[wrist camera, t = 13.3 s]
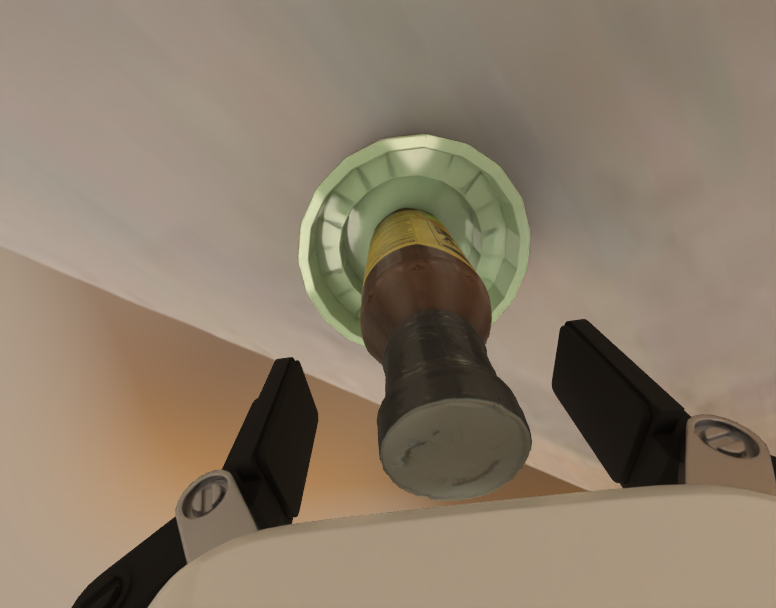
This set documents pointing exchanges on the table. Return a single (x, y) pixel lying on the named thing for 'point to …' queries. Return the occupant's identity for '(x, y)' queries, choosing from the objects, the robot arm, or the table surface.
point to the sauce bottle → (436, 365)
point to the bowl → (419, 191)
